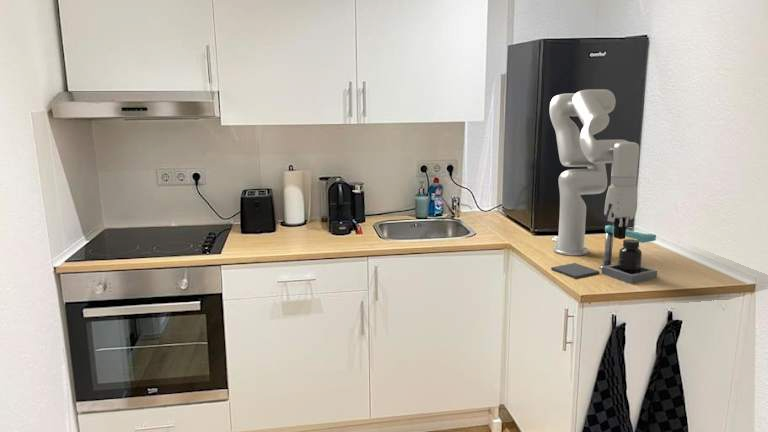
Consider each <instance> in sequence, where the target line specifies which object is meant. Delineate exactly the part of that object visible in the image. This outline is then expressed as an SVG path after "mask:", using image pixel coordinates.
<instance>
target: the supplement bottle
mask: <svg viewBox="0 0 768 432" xmlns="http://www.w3.org/2000/svg"><path fill="white" fill-rule="evenodd" d="M622 241H623V243H622V247H621V248H620V249H619V254H618V263H619V267H618V270H619V271H623V272H626V273H629V274H635V273H640V272H641V266H642V259H643V258H642V255H643V251H642V250H641V249H640V242H637V239H633V238H628V239H626V238H625V239H622Z"/></svg>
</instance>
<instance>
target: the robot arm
mask: <svg viewBox="0 0 768 432" xmlns="http://www.w3.org/2000/svg"><path fill="white" fill-rule="evenodd" d="M615 107H616V97H615V94H614V93H613V92H612V91H611V90H609V89H602V88H601V89H599V88H598V89H597V88H596V89H583V90H579V91H577V92H576V93H573V92H572V93H571V92H570V93H560V94H557V95H555V96H553V97H552V99H551V101H550V103H549V117H550V121H551V124H552V126H553V129H554V131H555V136H556V143H557V144H556V145H557V151H558V156H559V157H558V158H559V161H560V162H559V163H561V165H562V166H563V167H568V168H569V167H570V168H571V167H574V168H573V169H566V170H564V171H562V172H561V173H560V175H559V176H558V190H559V218H558V219H559V220H558V236H557V235H556V236H554V238H552V239H551V241H552V242H553V243H555V245H554V246H553V247H552V248H553V251H554V252H555V253H557V254H560V255H564V256H575V257H576V256H584V255H588V253H589V249H588V248H587V247H586V246H585V239H586V238H585V235H586V222H587V220H586V219H587V205H586V203H585V201H584V199H583V198H582V195H598V194H602V193H604V192H605V191H606V189H607V192H606V197H605V201H604V203H605V204H604V210H603V214H604V216H605V217H607V219H606V220H607V222H610V223H612V226H614V233H613V239H617V240H618V239H619V240H626V236H625V234H626V230H627V226H628V224H629V222H630V221H631V220H632V219H634V217H635V215H637V211H638V210H637V209H638V189H637V188H638V186H637V181H638V180H637V179H638V168H639V156H640V146H639V144H638V142H633V141H628V140H626V139H596V138H595V137H594V135H596V134H599V133H600V132H602V131H603V130H605V129H606V128H607V126H608V125H609V123H610V116H609V114H611V112H613V111H614V109H615ZM570 117H578V118H579V120H580V122H581V123H582V125H583V127H582V128H581V131H580V129H579V126H577V123H575V122H574V121H573V120H572V119H571V118H570ZM606 164H611V174H610V185H608V175H607V166H606ZM575 167H577V169H576V168H575ZM578 167H587V168H578Z"/></svg>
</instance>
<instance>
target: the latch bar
mask: <svg viewBox="0 0 768 432" xmlns="http://www.w3.org/2000/svg"><path fill="white" fill-rule="evenodd" d="M604 232H605V233H606V232H609V233H613V234H614V225H613V224H612V225H610V224H608V225H605V226H604ZM626 237H627V238H628V239H633V240H637V242H639V243H642V244H643V243H648V242H656V240H657V239H656V238H657V235H656V234H653V233H647V234H645V233H642V232H638V231H634V230H630V229H626V234H625V238H626Z"/></svg>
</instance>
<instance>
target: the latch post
mask: <svg viewBox="0 0 768 432" xmlns="http://www.w3.org/2000/svg"><path fill="white" fill-rule="evenodd" d="M604 241H605V242H604V256H603V263H602V264H599V266H598V269H599V270H601V271H602V266H607V265H612V259H613V258H612V257H613V245H614V233H609V232H605V240H604Z"/></svg>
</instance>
